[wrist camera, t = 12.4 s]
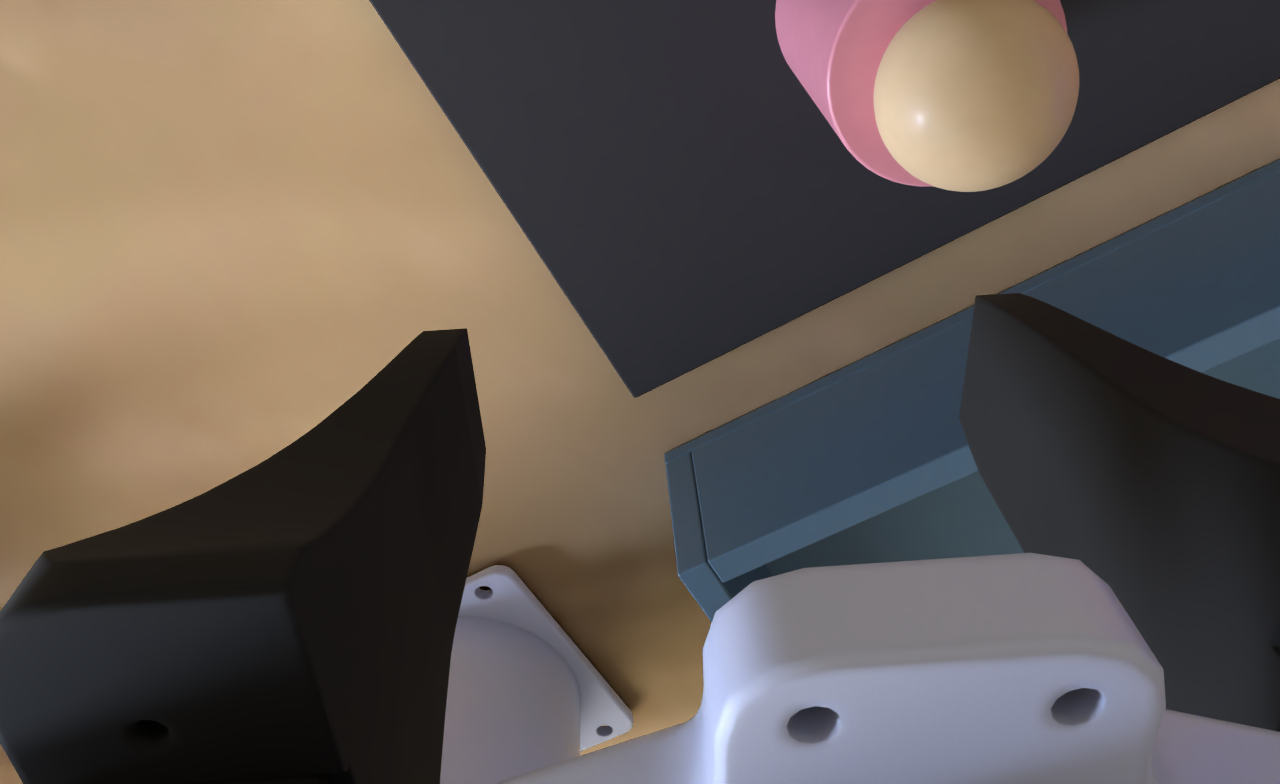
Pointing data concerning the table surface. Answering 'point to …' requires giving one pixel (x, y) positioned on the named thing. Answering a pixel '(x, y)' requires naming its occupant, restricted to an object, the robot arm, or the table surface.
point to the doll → (937, 83)
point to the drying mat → (757, 151)
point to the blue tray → (931, 398)
